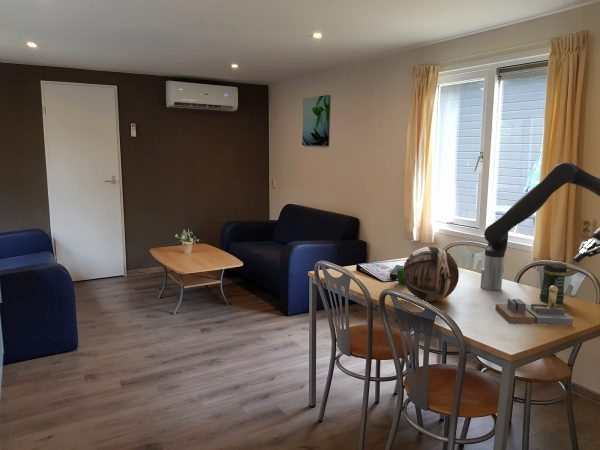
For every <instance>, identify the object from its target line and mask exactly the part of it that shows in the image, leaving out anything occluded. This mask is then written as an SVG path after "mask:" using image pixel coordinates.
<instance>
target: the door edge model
mask: <svg viewBox="0 0 600 450" xmlns="http://www.w3.org/2000/svg"><path fill="white" fill-rule="evenodd" d="M533 306H544V307H548V303H531V304H526V302H524V301H523V300H522V299H519V298H512V299H511V298H507V303H495V309H494V310H495V312H497V313H498V314H499V315H500V316H501V317H502V318H503V319H504V320H505V321H506V322H507V323H508V324H509V325H510V324H511V325H512V324H513V325H532V324H534V325H537V324H547V325H546V326H560V325H572V326H573V323H574V318H572V317H571V316H570V315H568V314H567V313H565V311H566V309H565V308H559V307H560V305H559V303H556V306H555V308H537V309H536V312H535V311H534V310H533Z"/></svg>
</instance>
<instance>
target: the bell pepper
mask: <svg viewBox="0 0 600 450" xmlns="http://www.w3.org/2000/svg"><path fill="white" fill-rule="evenodd" d="M396 276H397V282H398V283H399V285H401V286H404V285H405V283H404V279H403V267H400V268H399V269H397V271H396ZM405 286H406V285H405Z"/></svg>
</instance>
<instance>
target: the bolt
mask: <svg viewBox="0 0 600 450" xmlns="http://www.w3.org/2000/svg"><path fill="white" fill-rule="evenodd" d="M557 292H558V288H557V287H556V286H550V287H549V300H548V303H547V304H548V307H544V306H533V310H534V311H535V312H536V309H537V308H555V306H556V304H557V303H556V297H557Z"/></svg>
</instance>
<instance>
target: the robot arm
mask: <svg viewBox="0 0 600 450" xmlns="http://www.w3.org/2000/svg"><path fill="white" fill-rule="evenodd" d="M566 184H572V185H576V186H578V187H582V188H584V189H585V190H587V191H589V192H591V193H593V194H595V195H596V196H598V197H600V178H599V177H596V176H594V175H592V174H591V173H588V172H587V171H585V170H583V169H582V168H580V167H579V166H577V165H576V164H574V163H573V162H572V163H571V162H560V163H559V164H556V165H555V166H554V167H553V168H552V169H551V170H550V172H549V173H548V174H547V175H546V176H545V177H544V178H543V179H542V180H541V181H540V182H538V184H536V185H535V186H534V187H532V188H531V189H530V190H529V191H527V192H525V194H524V195H522V197H520V198H519V199H518V200H517V201H516V202H515V203H514V204H513V205H512V206H510V208H509V209H508V210H507V211H506V212H505V213H504V214H503V215H502V216H501V217H500V218H498V219H496V220H495V222H493V223H491V224H489V225H488V226H487V227H486V228H485V230H484V233H483V235H484V240H485V241H487V243H488V244H487V245H486V248H485V250H484V258H483V259H484V260H483V268H482V269H481V275H480V276H481V277H480V289H481V288H482V289H484V290H487V291H493V292H494V291H496V292H499V291H501V290H502V287H503V275H504V265H505V255H506V251H507V247H508V241H509V232H510V231H511V230H512V229H513V228H515V227H516V226H518V225H520V224H521V223H523V222H524V221H525V220H527V219H529V218H530V217H531V216H533V215H534V214H535V213H536V212H537V211H539V210H540V209H541V208H542V207H543V206H544V205H545V203H546V202H547V201H548V200H549V199H550V198H551V196H552V195H553V194H554V193H555V192H556V191H558V190H559V189H560V188H561V187H563V186H564V185H566ZM578 251H579V253H577V254H576V255H575V256H574V257H573V261H574V262H576V263H580V262H581V261H582V260H584V259H585V258H587V257H588V258H591V257H594V256H596V255H599V254H600V227H598V229H596V230H595V231H594V232H592V238H590V239H588V241H585V240H583V241H581V243H580V246H579V248H578Z"/></svg>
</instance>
